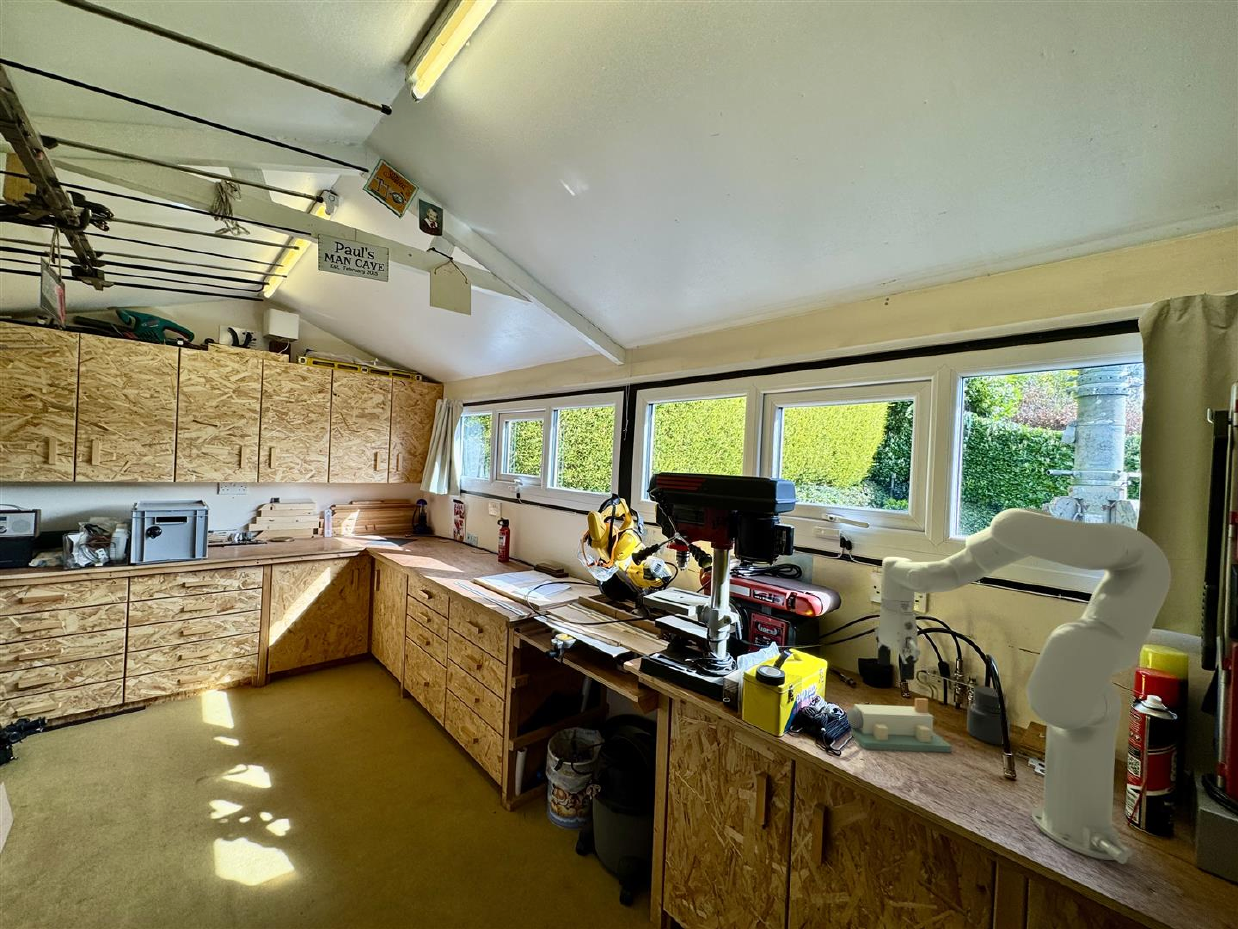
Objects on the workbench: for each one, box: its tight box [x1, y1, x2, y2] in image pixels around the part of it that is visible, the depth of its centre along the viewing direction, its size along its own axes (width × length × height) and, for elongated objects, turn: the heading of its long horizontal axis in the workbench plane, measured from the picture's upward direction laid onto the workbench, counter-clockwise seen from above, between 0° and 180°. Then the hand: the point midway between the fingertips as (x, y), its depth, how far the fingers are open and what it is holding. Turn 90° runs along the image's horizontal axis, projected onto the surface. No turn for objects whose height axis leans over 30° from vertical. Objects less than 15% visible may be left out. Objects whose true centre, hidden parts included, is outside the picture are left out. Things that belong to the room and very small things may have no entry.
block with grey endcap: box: [846, 697, 934, 736], centre depth 125 cm, size 5×20×8 cm, turn 92°
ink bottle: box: [966, 685, 1011, 746], centre depth 128 cm, size 10×9×12 cm
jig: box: [851, 724, 952, 753], centre depth 125 cm, size 14×22×4 cm, turn 93°
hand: (895, 671), depth 125 cm, fingers open, 9 cm apart
